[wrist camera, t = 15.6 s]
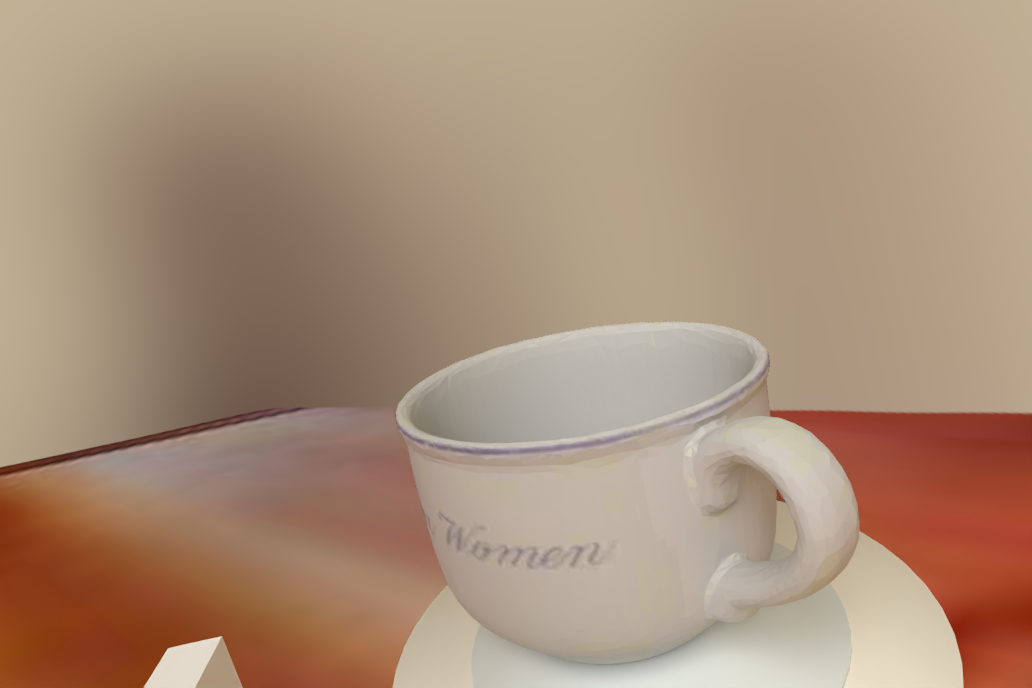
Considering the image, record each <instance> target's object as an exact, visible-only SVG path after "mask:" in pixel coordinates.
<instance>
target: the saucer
mask: <svg viewBox="0 0 1032 688" xmlns="http://www.w3.org/2000/svg"><path fill="white" fill-rule="evenodd" d="M796 541H797V533H796V529H795V525H794V521H793V518H792V516H791V513H790V511H789V508H788V506H787V504H786V503H785V502H782V501H777V515H776V534H775V539H774V544H773V549H772V553H771V556H770V558H769V561H772V560H780V559H783V558H786V557H788V556H790V555H791V554H792V553H793V551H794V548H795V545H796ZM393 688H964V685H963V670H962V661H961V657H960V653H959V649H958V645H957V642H956V638H955V634H954V632H953V630H952V628H951V626H950V624H949V621H948V619H947V617H946V615H945V613H944V611H943V609H942V607H941V606H940V604H939V603H938V601H937V600H936V599H935V597H934V596H933V594H932V593H931V591H930V590H929V589H928V587H927V586H926V584H925V583H924V582H923V581H922V580H921V579H920V578H919V577H918V576H917V575H916V574H915V573H914V572H913V571H912V570H911V569H910V568H909V567H908V566H907V565H906V564H905V563H904V562H903V561H902V560H900V559H899V558H898V557H897V556H895V555H894V554H893V553H892V552H890V551H889V550H888V549H887V548H885V547H884V546H883V545H881V544H879V543H878V542H876V541H875V540H873V539H871V538H870V537H868V536H867V535H865V534H863V533H862V532H860V531H859V540H858V543H857V546H856V548H855V551H854V554H853V556H852V558H851V559H850V561H849V563H848V565H847V566H846V568H845V569H844V570H843V571H842V572H841V573H840V574H839V575H838V576H837V577H836V578H835V579H834V580H833V581H832V582H830V583H829V584H828V585H826V586H825V587H824V588H822V589H821V590H819V591H817V592H816V593H814V594H812V595H810V596H808V597H806V598H803V599H800V600H797V601H794V602H790V603H787V604H783V605H778V606H770V607H762V608H760V609H759V610H758V611H757V612H756V613H755V614H754V615H753V616H752V617H750V618H748V619H746V620H744V621H741V622H738V623H724V622H721V621H717V622H716V623H714V624H713V625H712V626H710V627H708V628H707V629H706V630H704V631H703V632H702V633H701V634H699V635H698V636H696V637H695V638H693V639H692V640H690V641H688V642H687V643H685V644H683V645H681V646H679V647H677V648H675V649H672V650H670V651H668V652H665V653H662V654H659V655H657V656H654V657H650V658H646V659H642V660H638V661H632V662H625V663H619V664H588V663H581V662H574V661H569V660H564V659H559V658H556V657H553V656H550V655H547V654H544V653H542V652H539V651H535V650H531V649H527V648H525V647H522V646H520V645H517V644H515V643H512V642H510V641H507V640H505V639H503V638H501V637H499V636H497V635H495V634H494V633H492V632H491V631H489V630H488V629H486V628H485V627H483V626H482V625H481V624H480V623H479V622H477V621H476V620H475V619H474V618H473V617H472V616H471V615H469V613H468V612H467V611H466V610H465V609H464V608H463V606H462V605H461V604H460V603H459V602H458V600H457V599H456V597H455V595H454V594H453V592H452V591H451V589H450V588H449V586H448V585H447V586H446V587H445V588H444V589H443V590H442V591H441V592H440V594H439V595H438V596H437V597H436V598H435V599H434V600H433V602H432V603H431V604H430V605H429V607H428V608H427V609H426V611H425V612H424V614H423V615H422V617H421V618H420V619H419V621H418V622H417V624H416V625H415V627H414V629H413V631H412V633H411V635H410V637H409V639H408V641H407V642H406V644H405V646H404V649H403V652H402V655H401V657H400V660H399V663H398V666H397V669H396V673H395V678H394V683H393Z"/></svg>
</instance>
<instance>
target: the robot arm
mask: <svg viewBox="0 0 1032 688" xmlns="http://www.w3.org/2000/svg"><path fill="white" fill-rule="evenodd" d="M144 688H243V687H242V685H241V682H240V680H239V677H238V675H237V672H236V670H235V667H234V665H233V662H232V660H231V657H230V655H229V652H228V650H227V647H226V645H225V642H224V640H223V637H222V636H220V637H216V638H211V639H207V640H202V641H198V642H193V643H189V644H185V645H180V646H176V647H171V648H168V649H167V651H166V652H165V654H164V656H163V657H162V659H161V660H160V662H159V664H158V665H157V667H156V668H155V670H154V672H153V673H152V675H151V677H150V678H149V680H148V681H147V683H146V685H145V686H144Z"/></svg>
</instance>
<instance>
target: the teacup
mask: <svg viewBox="0 0 1032 688" xmlns="http://www.w3.org/2000/svg"><path fill="white" fill-rule="evenodd" d="M769 367H770V360H769V354H768V351H767V350H766V348H765V347H764V345H763V344H762V343H761V342H760V341H759V340H758V339H755V338H753V337H752V336H751V335H749V334H746V333H744V332H741V331H738V330H734V329H731V328H728V327H724V326H718V325H713V324H706V323H691V322H666V321H663V322H658V323H653V322H641V323H630V324H620V325H606V326H599V327H591V328H584V329H579V330H573V331H567V332H562V333H556V334H551V335H547V336H544V337H540V338H535V339H529V340H525V341H522V342H518V343H514V344H510V345H505V346H501V347H498V348H494V349H491V350H488V351H487V352H484V353H481V354H478V355H475V356H472V357H470V358H467V359H464V360H462V361H459V362H456V363H454V364H452V365H450V366H448V367H446V368H444V369H442V370H440V371H438V372H436V373H435V374H433V375H431V376H429V377H428V378H427V379H425V380H424V381H421V382H420V383H419V384H417V385H416V386H415V387H413V388H412V389H411V390H410V391H409V392H408V393H407V394H406V395H405V396H404V398H403V399H402V400H401V401H400V403H399V404H398V407H397V409H396V414H395V417H396V423H397V427H398V429H399V431H400V433H401V435H402V436H403V437H404V439H405V441H406V444H407V448H408V453H409V457H410V461H411V466H412V470H413V474H414V479H415V483H416V487H417V491H418V495H419V499H420V502H421V506H422V509H423V513H424V516H425V520H426V524H427V527H428V531H429V534H430V537H431V541H432V544H433V547H434V550H435V553H436V556H437V559H438V562H439V564H440V567H441V570H442V572H443V575H444V577H445V579H446V582H447V584H448V586H449V588H450V589H451V591H452V592H453V594H454V595H455V597H456V599H457V600H458V602H459V603H460V604H461V605H462V606H463V608H464V609H465V610H466V611H467V612H468V613H469V615H471V616H472V617H473V618H474V619H475V620H476V621H477V622H479V623H480V624H481V625H482V626H483V627H485V628H486V629H488V630H489V631H491V632H492V633H494V634H495V635H497V636H499V637H501V638H503V639H505V640H507V641H510V642H512V643H515V644H517V645H520V646H522V647H525V648H527V649H531V650H535V651H539V652H542V653H544V654H547V655H550V656H553V657H556V658H559V659H564V660H569V661H574V662H581V663H588V664H619V663H625V662H632V661H638V660H642V659H646V658H650V657H654V656H657V655H659V654H662V653H665V652H668V651H670V650H672V649H675V648H677V647H679V646H681V645H683V644H685V643H687V642H688V641H690V640H692V639H693V638H695V637H696V636H698V635H699V634H701V633H702V632H703V631H704V630H706V629H707V628H708V627H710V626H712V625H713V624H714V623H716V622H717V621H721V622H724V623H738V622H741V621H744V620H746V619H748V618H750V617H752V616H753V615H754V614H755V613H756V612H757V611H758V610H759V609H760V608H762V607H770V606H778V605H783V604H787V603H790V602H794V601H797V600H800V599H803V598H806V597H808V596H810V595H812V594H814V593H816V592H817V591H819V590H821V589H822V588H824V587H825V586H826V585H828V584H829V583H830V582H832V581H833V580H834V579H835V578H836V577H837V576H838V575H839V574H840V573H841V572H842V571H843V570H844V569H845V568H846V566H847V565H848V563H849V561H850V559H851V558H852V556H853V554H854V551H855V548H856V546H857V543H858V540H859V527H860V522H859V515H858V507H857V501H856V498H855V495H854V492H853V489H852V486H851V483H850V481H849V479H848V477H847V476H846V474H845V472H844V470H843V468H842V467H841V465H840V464H839V462H838V461H837V460H836V458H835V457H834V456H833V454H832V453H831V452H830V450H829V449H828V448H827V447H826V446H825V445H824V444H823V443H822V442H821V441H819V440H818V439H817V438H816V437H815V436H814V435H813V434H812V433H811V432H809V431H807V430H805V429H803V428H802V427H800V426H798V425H796V424H794V423H792V422H789V421H787V420H784V419H781V418H776V417H770V408H769V400H768V390H767V380H766V378H767V375H768V372H769ZM776 488H777V490H778V491H779V493H780V494H781V496H782V497H783V499H784V500H785V502H786V504H787V506H788V508H789V511H790V513H791V516H792V518H793V521H794V525H795V529H796V533H797V541H796V545H795V548H794V551H793V553H792V554H791V555H790V556H788V557H786V558H783V559H780V560H772V561H769V558H770V556H771V553H772V549H773V544H774V539H775V534H776V515H777V490H776Z"/></svg>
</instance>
